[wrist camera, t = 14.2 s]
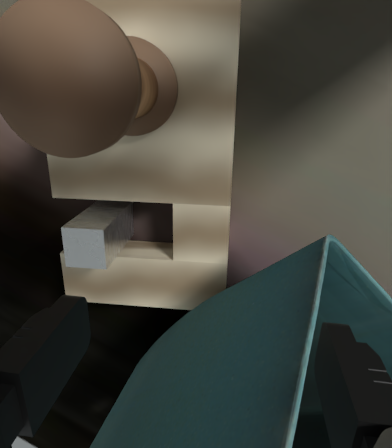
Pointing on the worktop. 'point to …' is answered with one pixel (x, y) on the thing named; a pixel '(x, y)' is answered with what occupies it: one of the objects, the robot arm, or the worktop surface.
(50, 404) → the robot arm
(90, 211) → the tab peg
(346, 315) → the flower pot
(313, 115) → the worktop surface
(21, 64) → the bobbin
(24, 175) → the worktop surface
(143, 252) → the notched board
